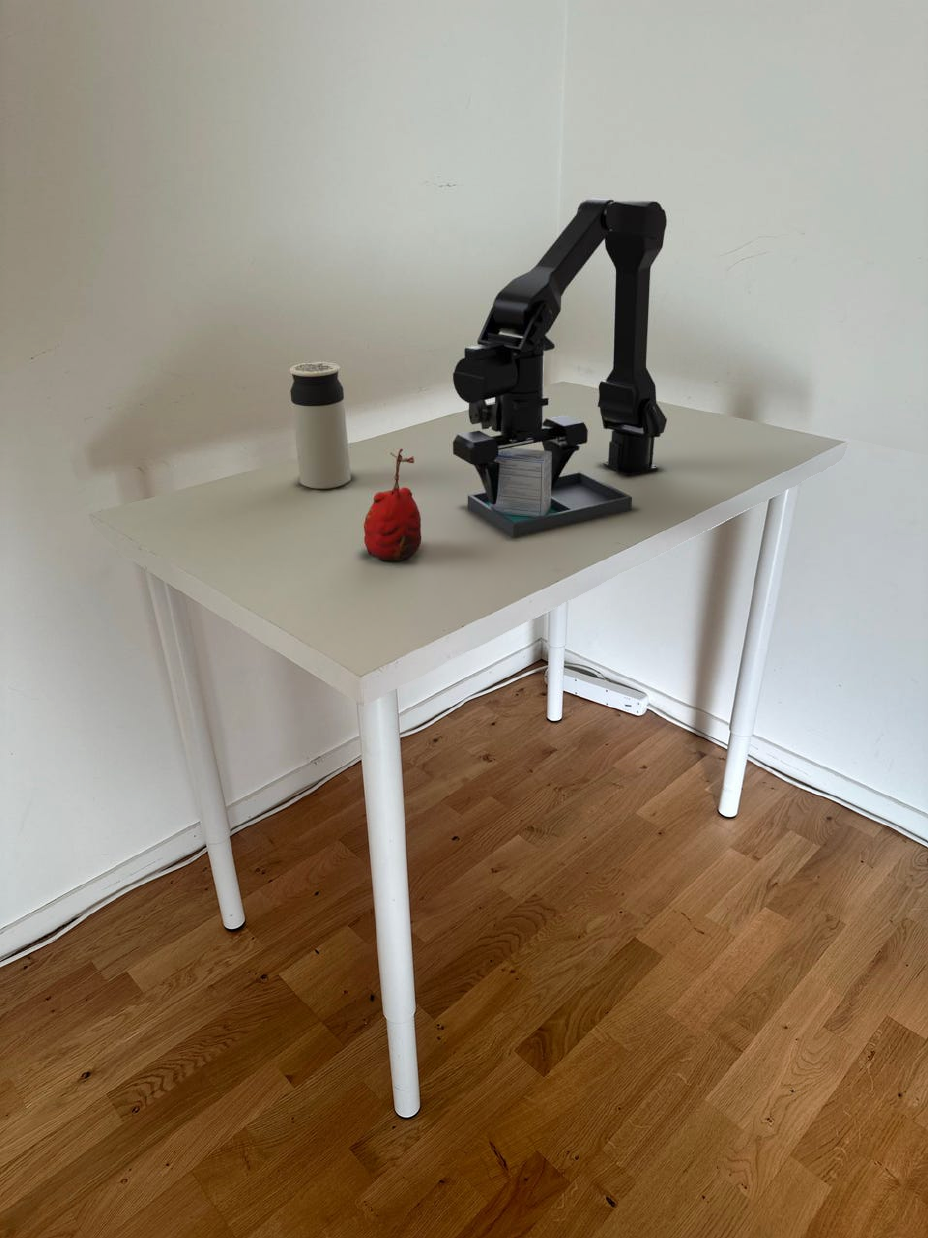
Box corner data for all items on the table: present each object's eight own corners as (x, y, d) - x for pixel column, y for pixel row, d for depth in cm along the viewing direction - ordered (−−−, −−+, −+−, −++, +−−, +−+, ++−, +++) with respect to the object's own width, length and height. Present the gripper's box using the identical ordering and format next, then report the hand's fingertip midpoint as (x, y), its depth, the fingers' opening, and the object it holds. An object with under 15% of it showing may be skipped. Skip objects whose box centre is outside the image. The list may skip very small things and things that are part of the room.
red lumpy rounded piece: (407, 538, 124) (401, 431, 117) (433, 556, 119) (429, 445, 111) (357, 551, 120) (348, 442, 113) (382, 570, 115) (374, 457, 108)
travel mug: (329, 493, 140) (317, 375, 131) (289, 484, 143) (276, 369, 135) (360, 478, 145) (352, 364, 137) (322, 469, 149) (311, 358, 140)
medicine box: (551, 508, 131) (553, 450, 127) (543, 519, 127) (544, 460, 123) (499, 502, 133) (499, 445, 129) (489, 513, 130) (489, 455, 125)
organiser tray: (580, 483, 142) (580, 470, 141) (631, 509, 131) (632, 496, 130) (467, 507, 133) (467, 494, 132) (513, 538, 123) (513, 524, 122)
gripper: (547, 366, 132) (544, 469, 139) (432, 384, 124) (436, 492, 132) (592, 383, 123) (587, 492, 131) (472, 403, 115) (473, 517, 123)
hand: (520, 497), depth 129 cm, fingers open, 9 cm apart
